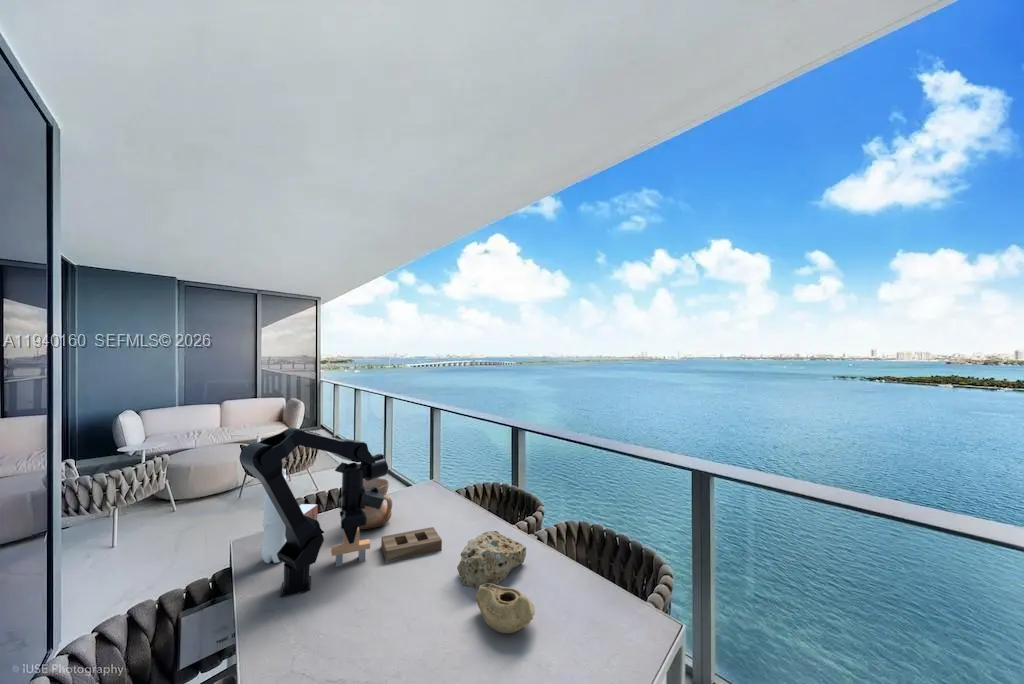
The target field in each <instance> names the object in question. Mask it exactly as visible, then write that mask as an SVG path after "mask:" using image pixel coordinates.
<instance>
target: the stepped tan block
mask: <svg viewBox="0 0 1024 684" xmlns="http://www.w3.org/2000/svg"><path fill="white" fill-rule="evenodd" d="M342 539H343V541H342V542H343V543H340V544H335V545H331V557H333V556H335V567H340V566H343V556H344V555H343V554H349V553H353V552H354V553H355V552H358V562H364V561H365V562H366V558H367V557H366V556H367V554H366V553H367V552H366V550H369V549H371V540H370V538H366V539H360V529H359V527H358V529H357V532H356V536H355V540H354V543H352V544H349V541H348V539H347V537H346V534H345V532H344V531H343V534H342Z"/></svg>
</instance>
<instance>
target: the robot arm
mask: <svg viewBox="0 0 1024 684" xmlns="http://www.w3.org/2000/svg"><path fill="white" fill-rule="evenodd" d="M299 446H301V447H304V448H305V447H306V448H309V449H315V450H319V451H324V452H328V453H331V454H332V455H333V456H335V457H338V458H340V459H341V460H344V461H345V460H346V461H349V462H350V463H346V462H340V464H339V465H338V466H337V467H336V468H335V469H334V472H338V473H341V475H342V477H341V478H342V480H341V489H340V490H341V497H340V498H339V499H338V508H339V509H341V511H339V516H340V519H341V520H340V528H341V530H343V533H344V532H345V534H346V537H347V539H348V541H349V544H352V543H354V540H355V536H356V532H357V529H358V526H364V525H366V524H367V516H366V513H365V512H364V511H363V510H362V509H364V508H365V506H368V507H373V508H376V509H380V508H381V505H382V503H384V501H383V500H385V499H384V496H383V495H382V494H381V493H378V488H377V487H372V488H371V489H370V490H368V491H365V489H364V486H363V483H364V479H365V480H366V481H369V480H373V479H376V478H383V477H385V476H386V475H387V474H388V472H389V465H388V463H387V461H386V459H385V455H384V454H383V453H378V454H374V455H372V454H371V452H370V451H369V447H368V443H366V442H364V441H359V440H355V439H347V438H344V439H343V438H342V439H340V438H339V439H337V438H332V437H328V436H325V435H321V434H317V433H313V432H309V431H305V430H304V429H302V428H297V427H289V428H286V429H285V430H282V431H281V432H278V433H277V434H274V435H272V436H271V435H270V436H269V437H266V438H264V439H262V440H260V441H258V442H251V443H250V444H248V445H246V446H244V447H243V448H242V450H241V452H240V455H239V462H240V463H241V465H242V466H243V467H244V468H245V469H246V471H248V473H250V474H251V475H252V476H253V477H254V478H255V479H257V480H258V481H259V482H260V483H261V485H262V487H263V489H264V491H265V492H266V494H268V496H269V498H270V499H271V501H272V503H273V505H274V507H275V508H276V510H277V512H278V514H279V516H280V517H281V519H282V521H283V523H284V524H285V527H286V529H285V537H286V540H287V541H286V543H285V544H284V545H283V547H282V548H281V549H280V550H279V552H278V553H277V557H278V559H279V561H281V562H282V563H283V581H282V584H281V589H280V594H279V596H280V598H281V597H283V598H284V597H287V596H290V595H291V596H292V595H296V594H300V593H303V592H304V593H305V592H309V591H311V589H312V588H311V587H312V575H310V574H311V565H313V564H315V563H316V562H317V559H318V557H319V553H320V551H321V547H322V545H323V543H324V541H325V540H324V539H325V538H324V535H323V534H324V533H325V531H324V530H323V529H322V528H321V525H320V521H319V520H318V519H317V520H315V519H313V518H310V517H308V516H304V514H303V512H302V510H301V508H300V507H299V506H300V504H299V503H298V501H297V500H296V497H295V495H294V493H293V491H292V489H291V488H290V486H289V484H288V482H287V480H285V478H284V476H283V474H282V469H283V460H284V459H286V457H288V456H289V455H290V454H291V453H292V452H293V451H294V450H295V449H296V448H297V447H299Z"/></svg>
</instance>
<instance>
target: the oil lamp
mask: <svg viewBox="0 0 1024 684" xmlns="http://www.w3.org/2000/svg"><path fill="white" fill-rule="evenodd" d="M477 589H478V590H477V592H476V595H475V602H476V604H477V607H478V608H479V610H480V613H481V615H482V617H483V620H484V622H485V623H486V624H487V625H488V626H489V627H491V628H492V629H493V630H494V631H497V632H498V633H499V634H500V633H501V634H512V633H516V632H518V631H519V630H522V629H523V628H525V627H526V626H528V625H529V624H530V623H531V622H532V620H533V619H534V615H535V611H536V610H535V605H534V603H533V602H532V601H531V600H530V599H529V598H528V597H527V596H526V595H524V594H523V593H522V592H521V591H520V590H518V589H516V588H512V587H506V586H505V587H504V586H501V585H497V584H491V583H488V584H483V585H481V586H480V587H479V588H477Z"/></svg>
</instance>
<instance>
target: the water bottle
mask: <svg viewBox="0 0 1024 684" xmlns="http://www.w3.org/2000/svg"><path fill="white" fill-rule="evenodd" d="M286 472H287V471H286V468H282V474H283V476H284V478H285V480H286V479H287V478H288V477H287V474H286ZM286 481H287V480H286ZM262 527H263V531H264V532H263V533H264V534H263V535H264V537H263V544H262V547H261V558H262V560H263V562H264V563H265V564H270V563H271V562H273V563H274V564H278V563H281V562H282V561H279V559H278V557H277V553H278V552H279V550H280V549H281V548H282V547H283V545H284V544H285V543H286V541H287V540H286V537H285V529H286V527H285V524H284V523H283V521H282V519H281V517H280V516H279V514H278V512H277V510H276V508H275V507H274V505H273V503H272V501H271V499H270V498H269V496H268V494H267V493H266V494H265V497H264V499H263V519H262Z"/></svg>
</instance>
